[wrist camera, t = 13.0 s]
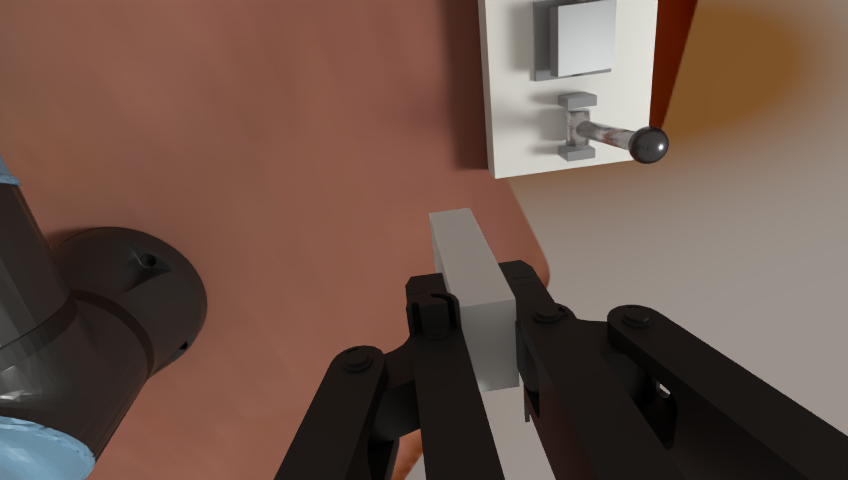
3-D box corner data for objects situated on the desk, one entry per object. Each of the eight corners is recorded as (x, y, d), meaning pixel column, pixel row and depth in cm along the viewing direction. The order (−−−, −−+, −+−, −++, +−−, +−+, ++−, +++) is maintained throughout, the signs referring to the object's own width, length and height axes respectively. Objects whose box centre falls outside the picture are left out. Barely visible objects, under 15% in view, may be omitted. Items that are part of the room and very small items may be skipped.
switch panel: (488, 169, 47) (501, 186, 42) (471, -104, 38) (485, -124, 33) (630, 150, 47) (660, 164, 42) (647, -125, 38) (686, -147, 33)
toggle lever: (558, 144, 42) (644, 172, 33) (557, 111, 41) (647, 131, 32) (583, 138, 43) (675, 165, 34) (584, 106, 42) (679, 124, 33)
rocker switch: (547, 79, 40) (558, 81, 38) (546, 3, 37) (558, 1, 36) (600, 70, 41) (613, 71, 39) (603, -4, 39) (616, -6, 37)
